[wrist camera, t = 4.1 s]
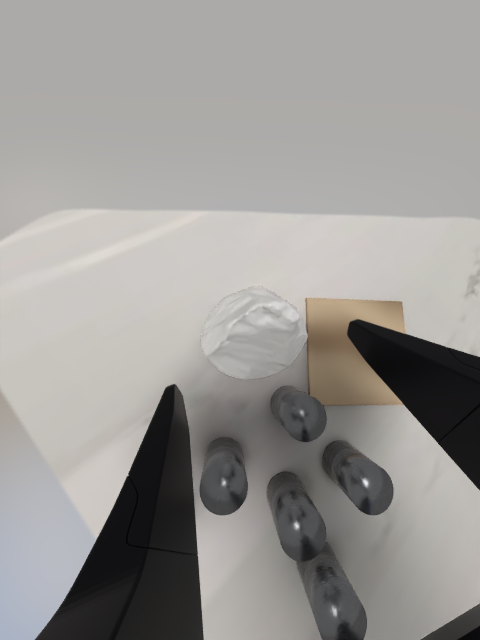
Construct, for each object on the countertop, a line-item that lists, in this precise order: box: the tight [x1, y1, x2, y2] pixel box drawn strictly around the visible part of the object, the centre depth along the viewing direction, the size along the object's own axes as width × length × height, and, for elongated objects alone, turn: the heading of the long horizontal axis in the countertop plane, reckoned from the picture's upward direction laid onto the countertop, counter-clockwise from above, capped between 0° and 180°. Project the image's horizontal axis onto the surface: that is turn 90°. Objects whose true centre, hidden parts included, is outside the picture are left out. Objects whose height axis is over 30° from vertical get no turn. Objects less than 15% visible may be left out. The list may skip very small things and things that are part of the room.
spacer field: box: [200, 386, 393, 640], centre depth 16 cm, size 16×14×4 cm
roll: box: [200, 286, 308, 379], centre depth 13 cm, size 6×12×6 cm
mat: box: [306, 298, 405, 405], centre depth 20 cm, size 10×10×1 cm
